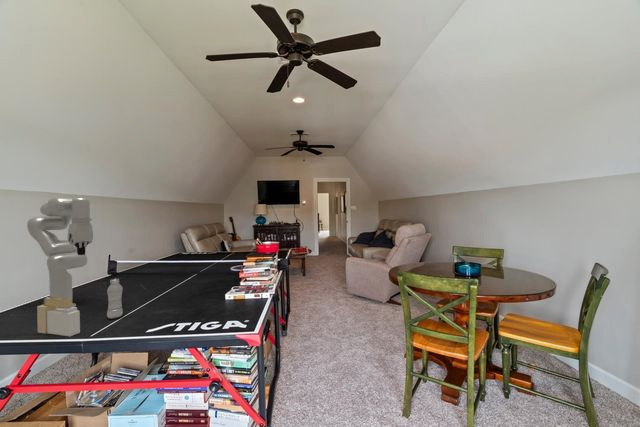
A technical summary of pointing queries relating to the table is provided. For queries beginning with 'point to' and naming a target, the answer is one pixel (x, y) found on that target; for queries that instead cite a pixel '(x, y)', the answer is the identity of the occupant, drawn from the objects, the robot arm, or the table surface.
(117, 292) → the plastic bottle
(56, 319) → the cream stepped two-tone block
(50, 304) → the swing bar
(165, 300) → the table surface
